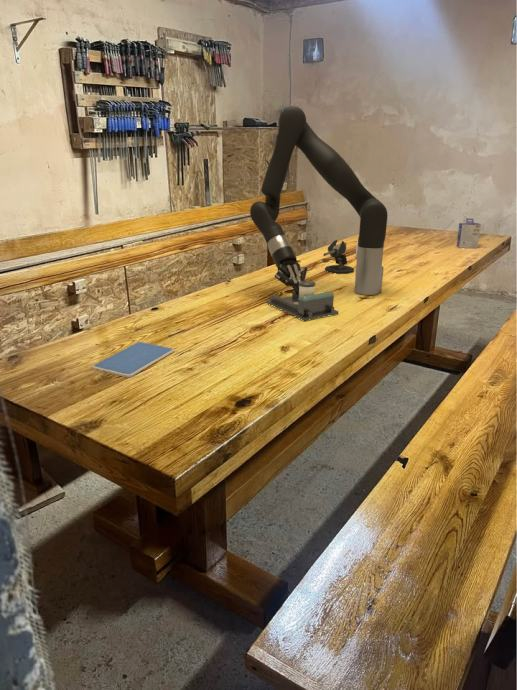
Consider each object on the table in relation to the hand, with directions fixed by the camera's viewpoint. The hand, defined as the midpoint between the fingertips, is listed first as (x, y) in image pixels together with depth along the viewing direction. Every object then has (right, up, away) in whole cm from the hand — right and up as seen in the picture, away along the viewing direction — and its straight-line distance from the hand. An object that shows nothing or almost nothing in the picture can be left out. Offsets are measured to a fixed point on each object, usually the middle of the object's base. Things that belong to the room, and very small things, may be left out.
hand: (301, 294), depth 181 cm
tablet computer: (-47, -21, -40) cm, 65 cm away
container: (+37, +25, +76) cm, 88 cm away
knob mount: (0, -5, +1) cm, 5 cm away
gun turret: (+19, +14, +49) cm, 55 cm away
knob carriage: (+2, -4, -1) cm, 5 cm away
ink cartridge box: (+94, +34, +100) cm, 142 cm away
